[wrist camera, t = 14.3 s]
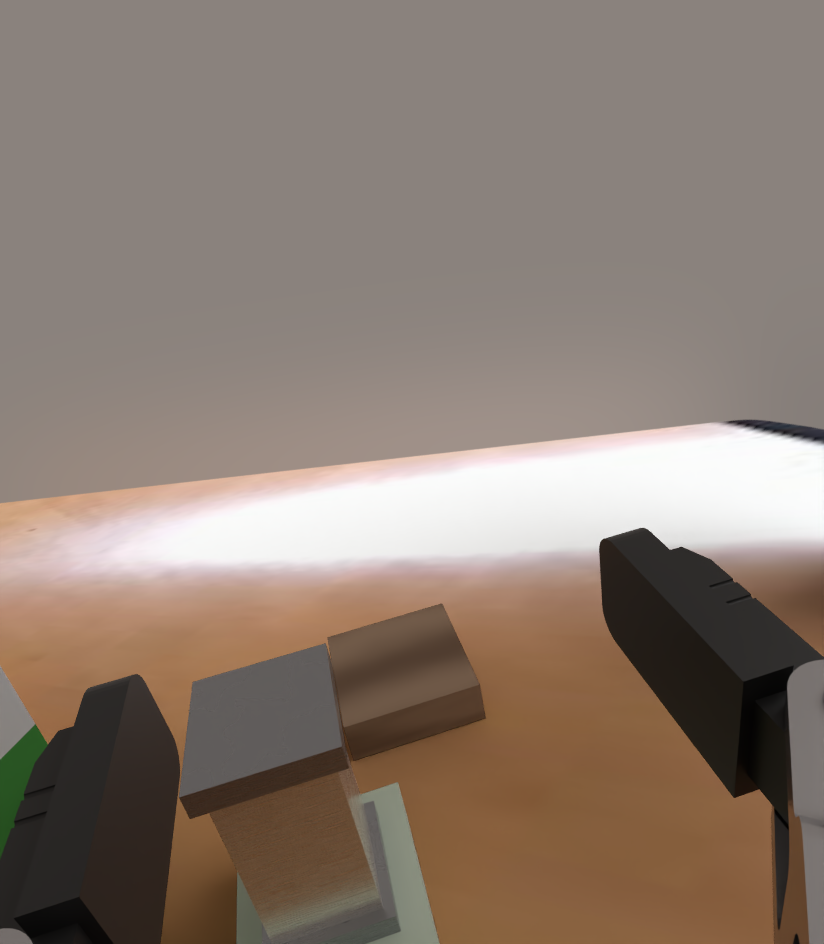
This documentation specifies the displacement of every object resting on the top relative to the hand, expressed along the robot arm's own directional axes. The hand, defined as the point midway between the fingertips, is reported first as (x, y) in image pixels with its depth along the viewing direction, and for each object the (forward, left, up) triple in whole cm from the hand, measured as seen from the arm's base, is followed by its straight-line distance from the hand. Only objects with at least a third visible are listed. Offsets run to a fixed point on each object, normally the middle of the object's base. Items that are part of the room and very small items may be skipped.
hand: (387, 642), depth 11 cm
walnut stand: (-21, -16, -27) cm, 37 cm away
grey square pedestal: (-6, -12, -24) cm, 27 cm away
